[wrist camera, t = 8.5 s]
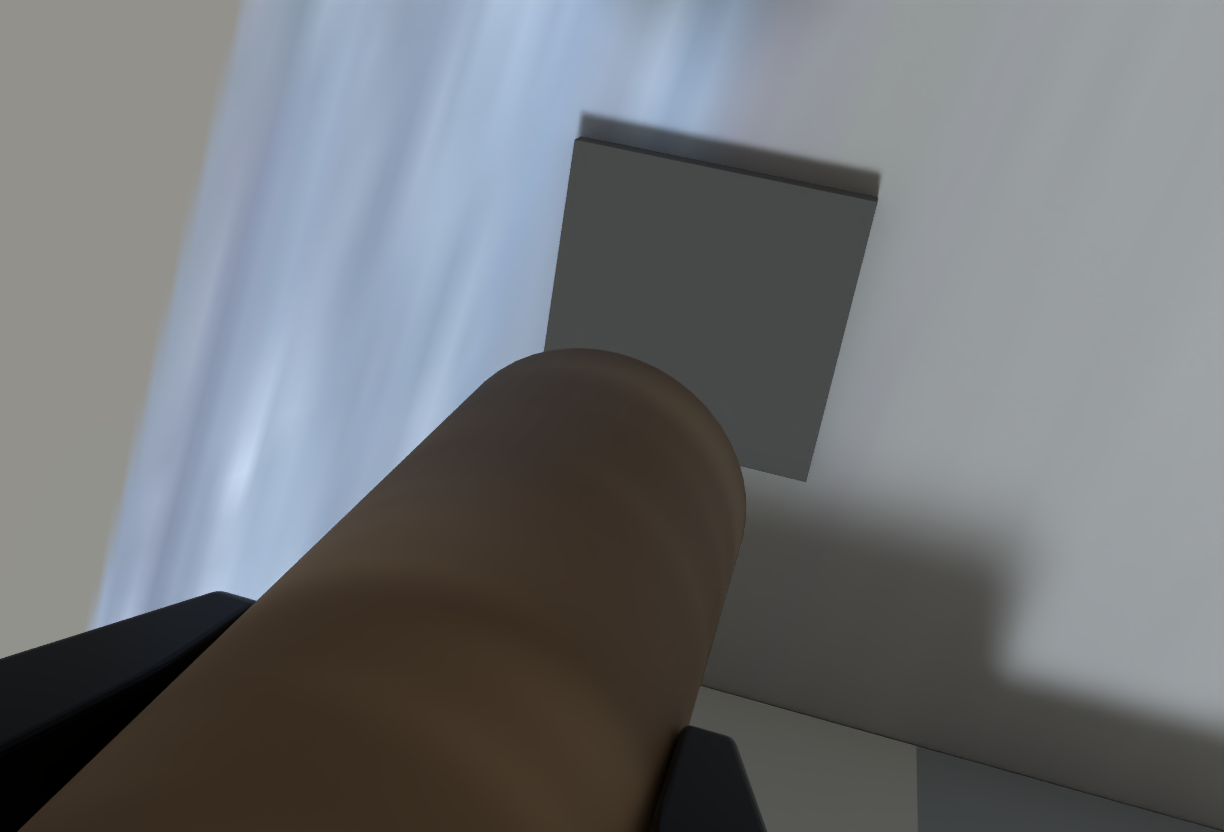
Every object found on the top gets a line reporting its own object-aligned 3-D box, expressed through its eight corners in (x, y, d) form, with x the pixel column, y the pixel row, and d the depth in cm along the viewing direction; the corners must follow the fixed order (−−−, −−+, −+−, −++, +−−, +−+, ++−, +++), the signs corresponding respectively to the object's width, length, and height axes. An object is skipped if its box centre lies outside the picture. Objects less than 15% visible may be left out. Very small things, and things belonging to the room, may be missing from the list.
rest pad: (877, 197, 18) (877, 201, 18) (807, 473, 20) (805, 481, 20) (581, 136, 19) (574, 139, 19) (541, 407, 21) (534, 414, 21)
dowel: (776, 390, 12) (356, 1769, 3) (711, 667, 13) (285, 2204, 4) (460, 315, 12) (-776, 1258, 3) (429, 589, 14) (-502, 1787, 5)
